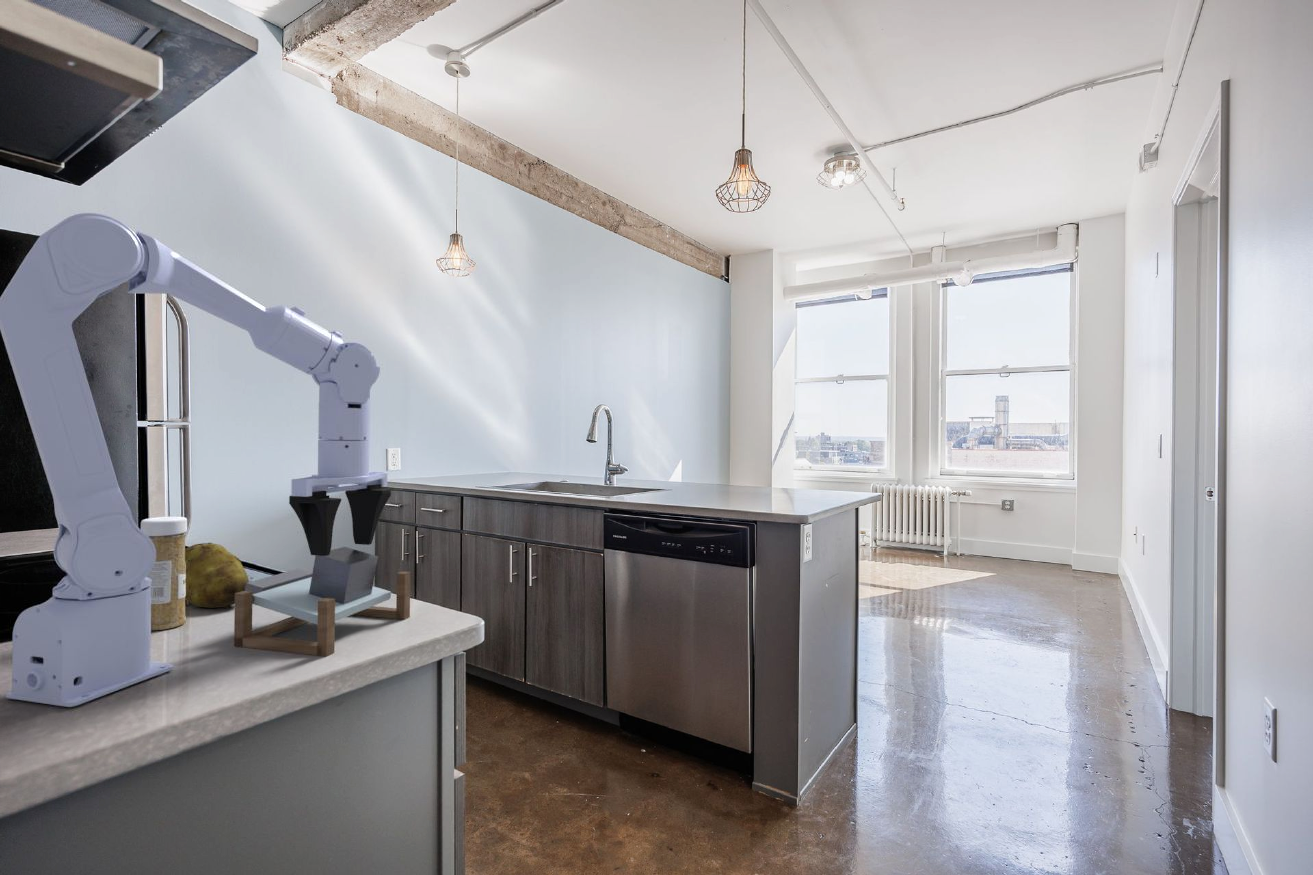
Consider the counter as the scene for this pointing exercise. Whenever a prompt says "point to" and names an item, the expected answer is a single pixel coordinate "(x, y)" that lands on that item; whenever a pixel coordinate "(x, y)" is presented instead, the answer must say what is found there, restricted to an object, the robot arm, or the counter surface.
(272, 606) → the trapdoor
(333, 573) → the iron block
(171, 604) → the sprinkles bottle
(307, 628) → the counter surface
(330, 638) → the frame
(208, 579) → the potato
